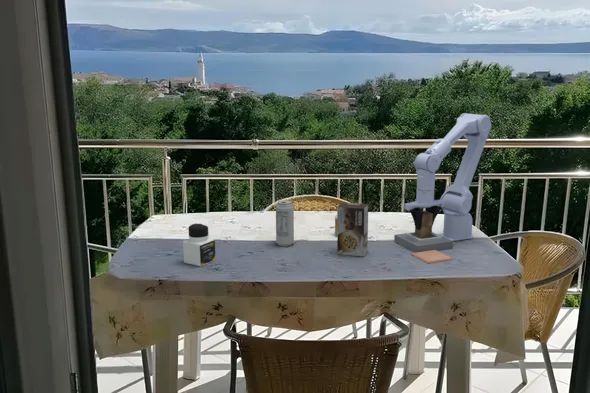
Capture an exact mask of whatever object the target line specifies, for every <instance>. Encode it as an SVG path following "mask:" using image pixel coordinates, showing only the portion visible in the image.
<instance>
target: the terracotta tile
mask: <svg viewBox="0 0 590 393" xmlns="http://www.w3.org/2000/svg"><path fill="white" fill-rule="evenodd" d="M411 256H413V257H415V258H416V259H419V260H421V261H422V262H424V263H425V264H426V263H427V264H434V263H439V262H440V263H441V262H447V261H452V260H453V257H451V256H449V255H446V254H445V253H443V252H440V250H438V251H436V250H430V251H423V252H416V253H415V252H412V253H411Z"/></svg>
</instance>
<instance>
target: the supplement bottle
mask: <svg viewBox="0 0 590 393" xmlns="http://www.w3.org/2000/svg"><path fill="white" fill-rule="evenodd" d="M334 235H335V237H337V214H335V216H334Z"/></svg>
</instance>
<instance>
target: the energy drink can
mask: <svg viewBox="0 0 590 393" xmlns="http://www.w3.org/2000/svg"><path fill="white" fill-rule="evenodd" d="M294 212H295V210H294V205H293V201H291V200H287V199H284V200H282V199H281V200H277V203H276V205H275V237H276V238H275V240H276V244H277V245H278V247H283V248H286V247H292V245H293V243H295V242H294V241H295V234H294V233H295V232H294V231H295V230H294V229H295V227H294V226H295V224H294V220H295V219H294V217H295V216H294V214H295V213H294Z"/></svg>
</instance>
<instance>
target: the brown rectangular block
mask: <svg viewBox="0 0 590 393" xmlns="http://www.w3.org/2000/svg"><path fill="white" fill-rule="evenodd" d="M423 212H424V213H423V216H422V221H421V229H420V230H417V229H415V228H414V232H415V235H417V236H419V237H421V238H424V237H431V236H432V232H433V226H432V219H433V213H430V212H428V211H426V210H423Z"/></svg>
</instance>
